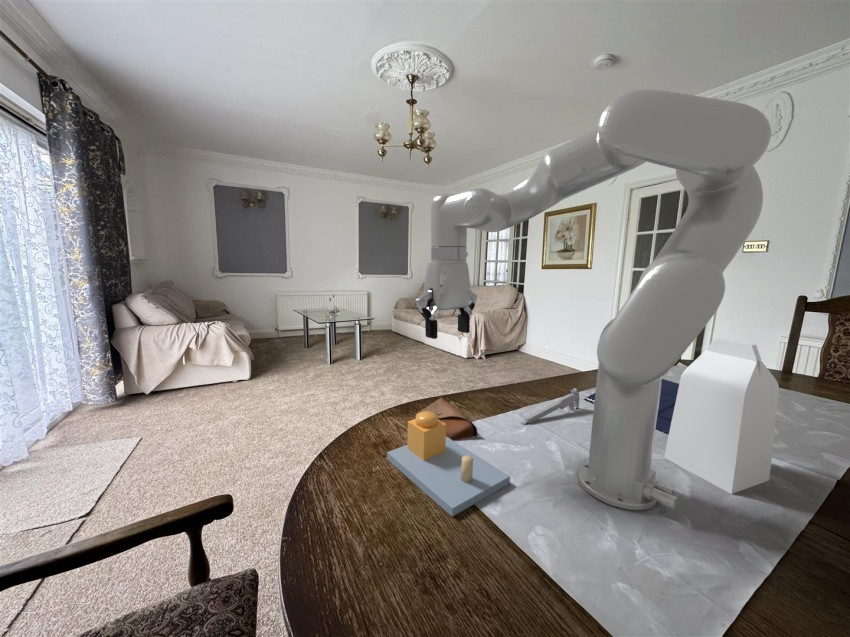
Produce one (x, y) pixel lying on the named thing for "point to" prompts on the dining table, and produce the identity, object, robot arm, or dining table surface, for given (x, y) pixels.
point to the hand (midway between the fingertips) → (448, 334)
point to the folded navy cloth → (663, 404)
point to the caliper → (556, 406)
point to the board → (450, 476)
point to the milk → (725, 417)
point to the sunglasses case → (452, 420)
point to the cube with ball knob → (426, 435)
